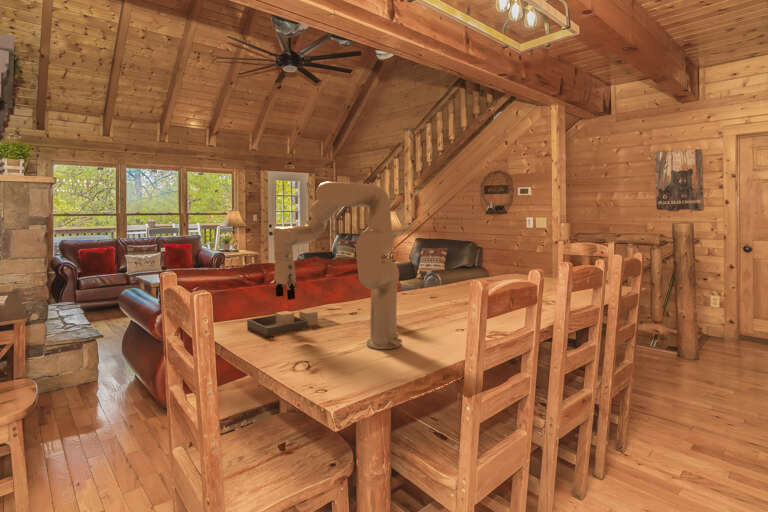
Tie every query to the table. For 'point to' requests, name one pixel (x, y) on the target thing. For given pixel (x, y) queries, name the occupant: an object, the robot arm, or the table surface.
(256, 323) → the charcoal bin
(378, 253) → the robot arm
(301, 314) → the beige cube
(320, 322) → the walnut board
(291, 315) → the peach cube
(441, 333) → the table surface
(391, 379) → the table surface
